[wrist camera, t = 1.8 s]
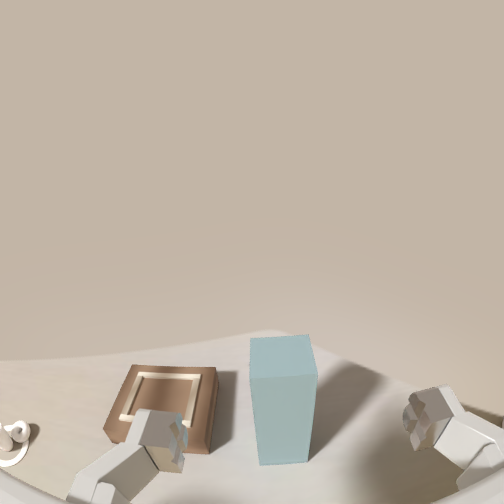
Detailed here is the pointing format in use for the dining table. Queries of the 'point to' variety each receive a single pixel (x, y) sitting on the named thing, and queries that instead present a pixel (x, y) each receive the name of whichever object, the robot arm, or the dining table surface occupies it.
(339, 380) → the dining table surface
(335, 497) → the dining table surface
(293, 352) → the column
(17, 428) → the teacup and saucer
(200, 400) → the plinth
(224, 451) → the dining table surface
